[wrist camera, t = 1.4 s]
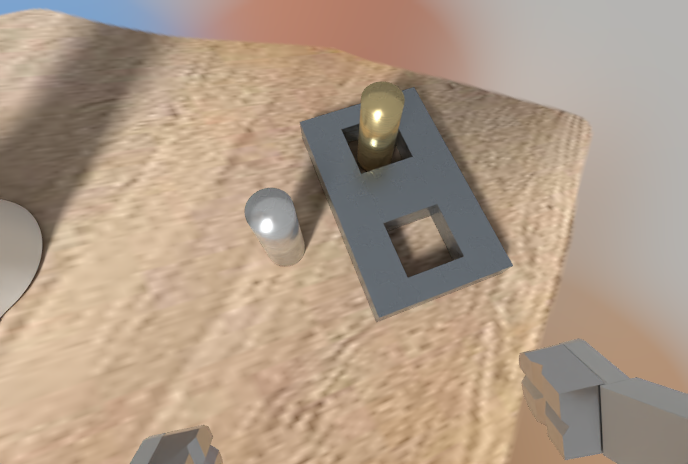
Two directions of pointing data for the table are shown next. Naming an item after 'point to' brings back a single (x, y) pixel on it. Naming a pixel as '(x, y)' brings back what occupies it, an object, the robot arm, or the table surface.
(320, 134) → the bolt plate
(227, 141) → the table surface
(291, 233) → the steel peg
